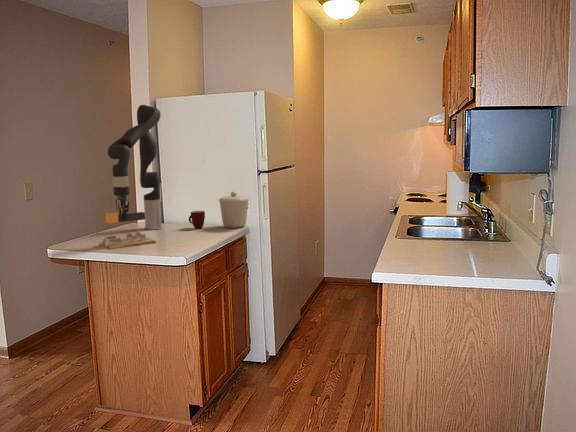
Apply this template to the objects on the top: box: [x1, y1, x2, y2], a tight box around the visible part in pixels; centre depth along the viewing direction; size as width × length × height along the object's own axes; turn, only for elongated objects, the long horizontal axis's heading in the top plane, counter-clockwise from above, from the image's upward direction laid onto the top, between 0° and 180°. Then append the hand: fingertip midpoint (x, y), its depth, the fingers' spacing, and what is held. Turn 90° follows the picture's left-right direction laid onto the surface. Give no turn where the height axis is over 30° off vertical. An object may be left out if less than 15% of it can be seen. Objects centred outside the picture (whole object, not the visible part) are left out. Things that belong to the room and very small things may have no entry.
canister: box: [218, 191, 250, 229], centre depth 298 cm, size 18×18×21 cm
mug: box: [188, 210, 206, 230], centre depth 295 cm, size 10×8×10 cm
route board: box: [99, 231, 157, 250], centre depth 253 cm, size 16×23×4 cm
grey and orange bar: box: [105, 211, 145, 224], centre depth 251 cm, size 18×5×5 cm, turn 127°
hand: (123, 219), depth 251 cm, fingers closed on grey and orange bar, 3 cm apart
